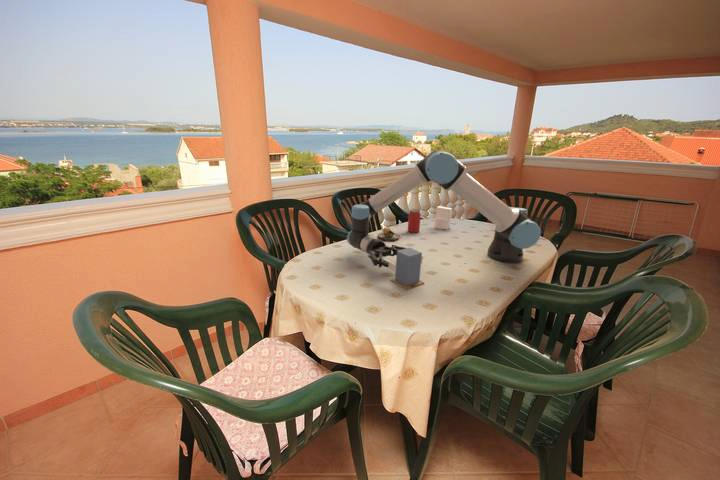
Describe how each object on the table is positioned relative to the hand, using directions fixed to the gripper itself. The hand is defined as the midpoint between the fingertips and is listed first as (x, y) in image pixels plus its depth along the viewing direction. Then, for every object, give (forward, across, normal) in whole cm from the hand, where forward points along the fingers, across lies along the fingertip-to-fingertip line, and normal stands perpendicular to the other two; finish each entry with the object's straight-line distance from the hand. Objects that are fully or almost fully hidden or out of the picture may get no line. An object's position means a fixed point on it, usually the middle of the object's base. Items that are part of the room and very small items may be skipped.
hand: (409, 263), depth 117 cm
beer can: (-46, -49, -8) cm, 67 cm away
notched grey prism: (-1, 0, -7) cm, 7 cm away
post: (-1, 0, -8) cm, 8 cm away
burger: (-44, -29, -8) cm, 53 cm away
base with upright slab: (-42, -69, -8) cm, 81 cm away
